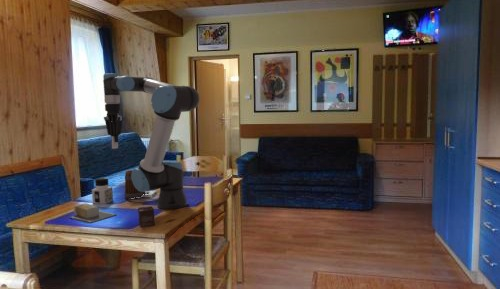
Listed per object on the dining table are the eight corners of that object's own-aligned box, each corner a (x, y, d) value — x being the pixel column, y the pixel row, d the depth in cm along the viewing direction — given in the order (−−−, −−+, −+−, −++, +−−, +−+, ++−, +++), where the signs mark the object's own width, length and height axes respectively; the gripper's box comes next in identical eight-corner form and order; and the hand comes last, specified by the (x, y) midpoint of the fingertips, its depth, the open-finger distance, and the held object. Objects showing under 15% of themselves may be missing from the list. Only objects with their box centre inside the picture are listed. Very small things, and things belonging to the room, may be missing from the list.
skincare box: (85, 202, 188) (99, 206, 181) (86, 211, 189) (99, 215, 181) (73, 205, 183) (86, 209, 176) (73, 214, 184) (86, 218, 176)
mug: (122, 200, 212) (120, 173, 211) (127, 195, 223) (125, 170, 221) (151, 198, 213) (149, 172, 212) (154, 194, 224) (153, 169, 222)
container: (105, 204, 204) (103, 179, 203) (92, 203, 206) (90, 179, 204) (113, 200, 212) (112, 177, 210) (100, 200, 213) (99, 176, 212)
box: (152, 222, 171) (151, 205, 170) (155, 225, 166) (154, 209, 165) (138, 223, 169) (137, 207, 168) (140, 227, 163) (139, 210, 163)
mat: (116, 215, 183) (116, 214, 183) (90, 223, 171) (90, 222, 171) (95, 210, 191) (95, 209, 191) (69, 218, 180) (69, 216, 180)
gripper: (126, 103, 200) (129, 148, 203) (110, 103, 207) (113, 147, 210) (114, 103, 194) (117, 149, 197) (98, 103, 201) (101, 148, 204)
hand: (115, 148), depth 203 cm, fingers closed
